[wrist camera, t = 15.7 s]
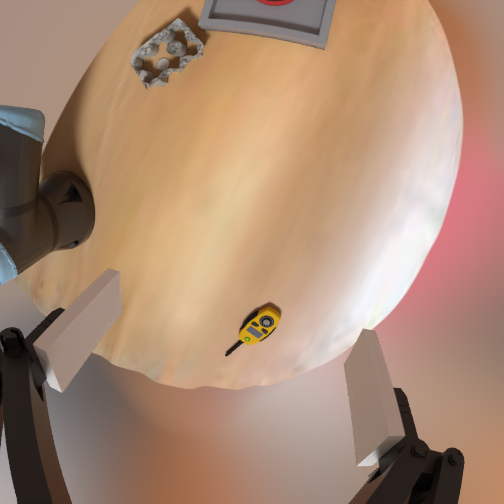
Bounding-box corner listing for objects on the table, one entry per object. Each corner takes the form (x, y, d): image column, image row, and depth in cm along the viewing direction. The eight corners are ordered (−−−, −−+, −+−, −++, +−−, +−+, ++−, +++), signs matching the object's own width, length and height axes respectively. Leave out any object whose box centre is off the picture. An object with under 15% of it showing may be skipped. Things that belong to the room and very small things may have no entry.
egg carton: (156, 94, 39) (143, 92, 35) (135, 62, 37) (122, 58, 33) (212, 54, 36) (204, 47, 32) (188, 22, 34) (178, 13, 30)
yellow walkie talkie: (285, 322, 49) (234, 366, 55) (286, 316, 51) (236, 359, 57) (264, 306, 49) (214, 352, 54) (265, 300, 50) (216, 346, 56)
